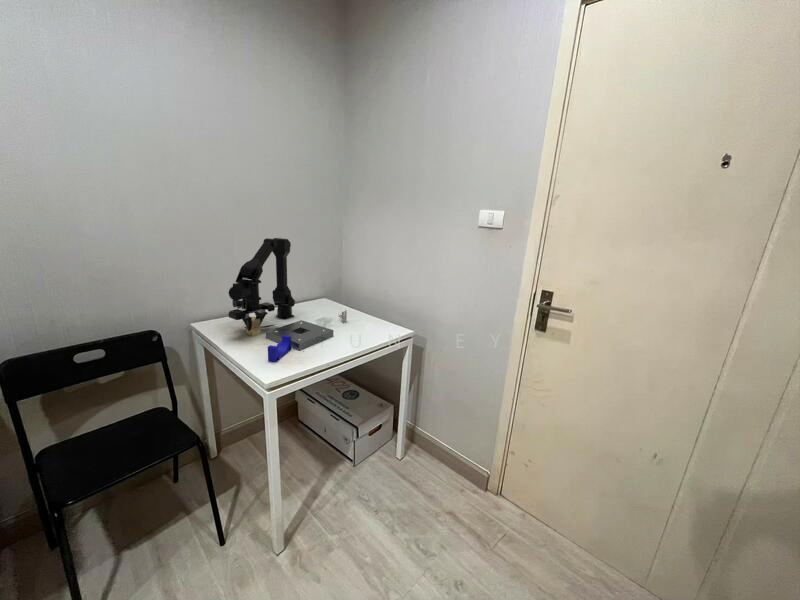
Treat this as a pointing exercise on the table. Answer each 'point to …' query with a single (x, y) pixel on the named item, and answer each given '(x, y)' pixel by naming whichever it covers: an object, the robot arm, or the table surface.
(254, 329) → the tan wooden block
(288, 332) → the grey square mounting plate
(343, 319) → the architectural model
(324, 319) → the table surface
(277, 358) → the blue u-shaped bracket
